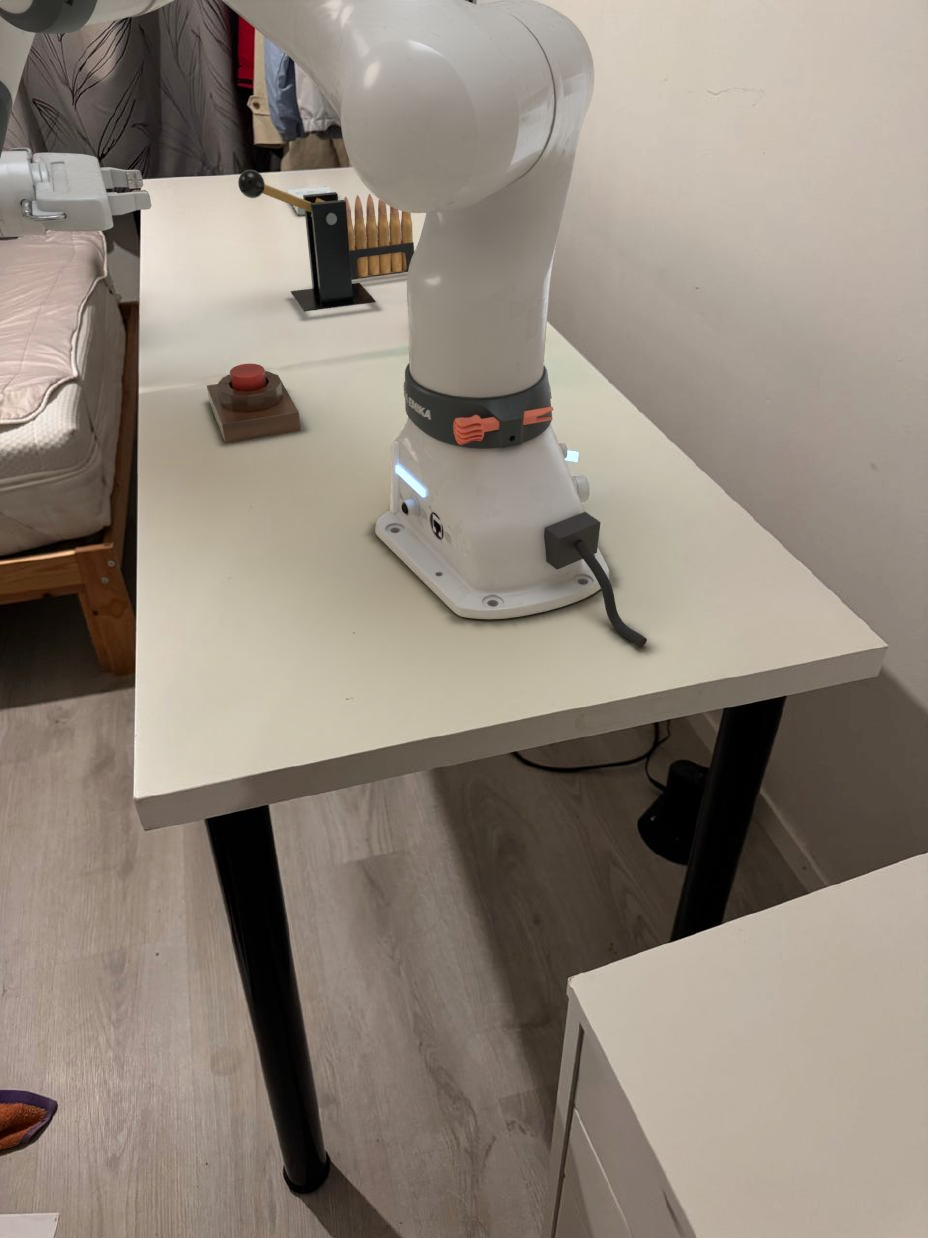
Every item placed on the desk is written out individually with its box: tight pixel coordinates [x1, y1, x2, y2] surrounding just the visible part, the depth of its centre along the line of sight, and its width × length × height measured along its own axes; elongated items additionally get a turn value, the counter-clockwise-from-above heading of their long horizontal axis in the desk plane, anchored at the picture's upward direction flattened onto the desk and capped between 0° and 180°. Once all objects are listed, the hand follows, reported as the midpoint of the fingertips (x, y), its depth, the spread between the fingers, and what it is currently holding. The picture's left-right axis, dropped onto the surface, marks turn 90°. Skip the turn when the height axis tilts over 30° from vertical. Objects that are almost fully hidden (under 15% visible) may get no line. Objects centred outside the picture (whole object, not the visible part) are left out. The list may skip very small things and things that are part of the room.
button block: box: [206, 370, 302, 444], centre depth 97 cm, size 10×8×4 cm
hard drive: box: [286, 186, 340, 217], centre depth 163 cm, size 2×8×12 cm
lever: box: [237, 169, 326, 217], centre depth 114 cm, size 13×3×3 cm, turn 112°
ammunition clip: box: [343, 193, 415, 281], centre depth 128 cm, size 11×2×12 cm, turn 114°
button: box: [229, 363, 267, 391], centre depth 95 cm, size 4×4×2 cm
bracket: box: [290, 191, 377, 313], centre depth 120 cm, size 10×8×14 cm
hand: (146, 188), depth 108 cm, fingers open, 8 cm apart
